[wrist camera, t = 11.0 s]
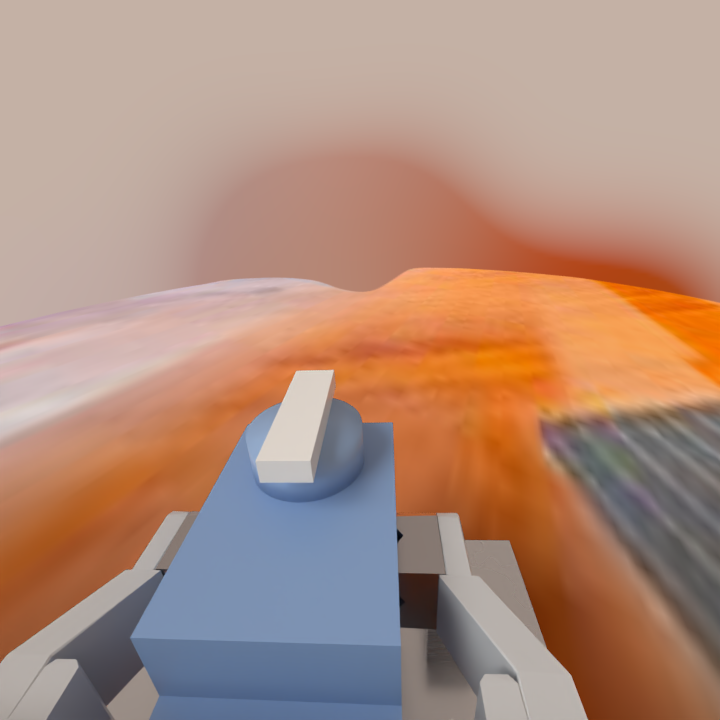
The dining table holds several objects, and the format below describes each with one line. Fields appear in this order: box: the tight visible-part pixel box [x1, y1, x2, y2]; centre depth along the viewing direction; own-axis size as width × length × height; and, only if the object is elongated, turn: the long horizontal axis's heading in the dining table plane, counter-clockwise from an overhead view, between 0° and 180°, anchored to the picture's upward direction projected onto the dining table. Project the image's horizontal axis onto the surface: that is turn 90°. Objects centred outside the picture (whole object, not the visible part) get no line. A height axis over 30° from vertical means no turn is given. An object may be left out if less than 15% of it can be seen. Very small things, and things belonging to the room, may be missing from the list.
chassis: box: [107, 540, 547, 720], centre depth 11 cm, size 14×12×2 cm
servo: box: [130, 370, 402, 720], centre depth 9 cm, size 4×8×9 cm, turn 177°
